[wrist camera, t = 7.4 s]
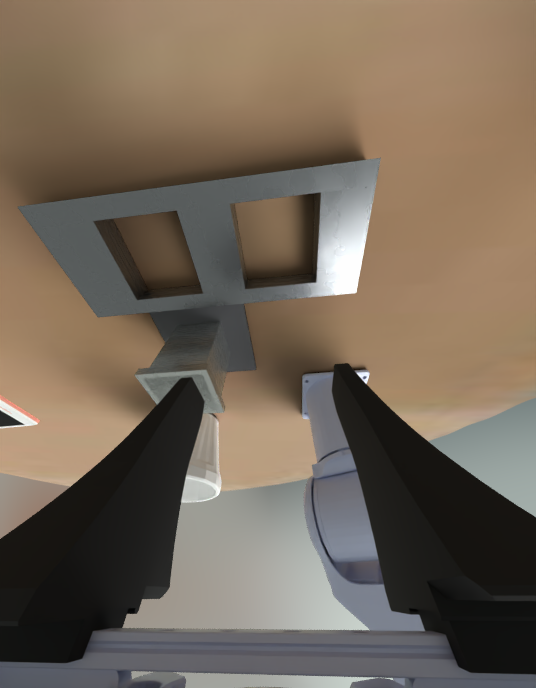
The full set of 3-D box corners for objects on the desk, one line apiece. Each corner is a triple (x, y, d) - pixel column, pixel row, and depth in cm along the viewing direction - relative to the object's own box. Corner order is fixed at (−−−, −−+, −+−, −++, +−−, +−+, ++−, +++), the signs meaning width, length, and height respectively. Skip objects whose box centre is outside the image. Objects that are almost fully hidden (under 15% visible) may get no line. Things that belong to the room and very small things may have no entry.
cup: (160, 427, 33) (130, 496, 25) (171, 392, 27) (136, 468, 20) (219, 440, 35) (207, 506, 28) (240, 411, 30) (232, 484, 23)
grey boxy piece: (234, 357, 22) (224, 412, 17) (189, 360, 23) (165, 415, 17) (223, 317, 19) (206, 369, 14) (171, 321, 20) (134, 375, 14)
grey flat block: (348, 283, 18) (356, 292, 16) (111, 306, 19) (97, 317, 17) (366, 161, 13) (380, 157, 11) (45, 204, 14) (17, 206, 12)
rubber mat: (256, 367, 24) (256, 369, 24) (183, 372, 25) (182, 375, 24) (242, 298, 19) (242, 300, 18) (149, 307, 19) (147, 309, 19)
